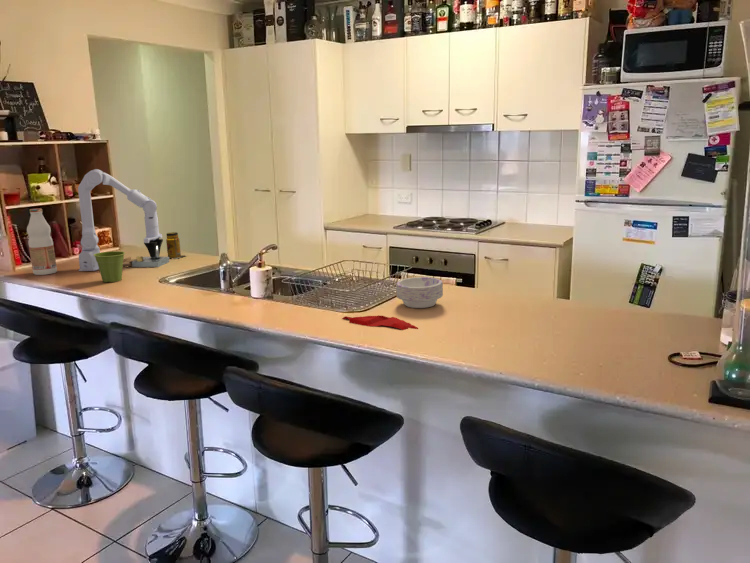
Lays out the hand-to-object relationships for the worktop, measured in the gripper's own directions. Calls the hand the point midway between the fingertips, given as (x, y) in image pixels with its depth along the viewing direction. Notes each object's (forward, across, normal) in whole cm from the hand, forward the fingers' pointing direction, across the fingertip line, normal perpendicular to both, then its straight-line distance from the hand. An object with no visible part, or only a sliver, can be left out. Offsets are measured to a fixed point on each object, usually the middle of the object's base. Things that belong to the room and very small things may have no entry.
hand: (155, 256), depth 288 cm
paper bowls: (+4, -70, -124) cm, 142 cm away
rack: (+4, 0, +12) cm, 12 cm away
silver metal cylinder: (+3, 0, 0) cm, 3 cm away
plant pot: (+4, -34, +2) cm, 35 cm away
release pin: (+3, -5, +5) cm, 8 cm away
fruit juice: (+4, -20, +41) cm, 46 cm away
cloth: (+4, -91, -113) cm, 145 cm away
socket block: (+4, -2, +1) cm, 4 cm away
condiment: (+4, +16, -3) cm, 17 cm away
